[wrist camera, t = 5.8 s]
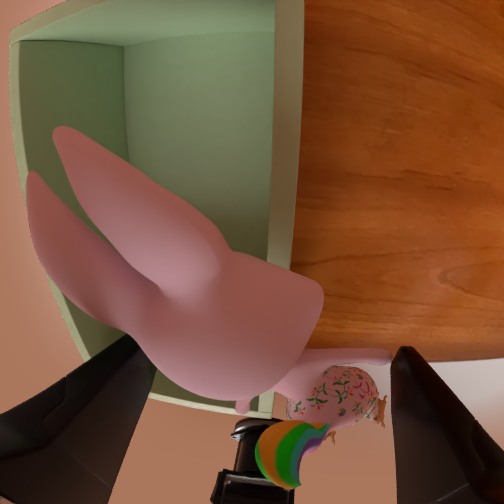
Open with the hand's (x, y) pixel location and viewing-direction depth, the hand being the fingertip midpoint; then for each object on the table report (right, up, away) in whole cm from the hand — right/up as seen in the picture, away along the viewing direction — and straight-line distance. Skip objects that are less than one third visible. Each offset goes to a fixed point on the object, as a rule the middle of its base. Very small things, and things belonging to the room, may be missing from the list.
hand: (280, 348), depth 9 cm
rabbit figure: (0, +1, +1) cm, 2 cm away
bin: (-4, +7, +10) cm, 13 cm away
